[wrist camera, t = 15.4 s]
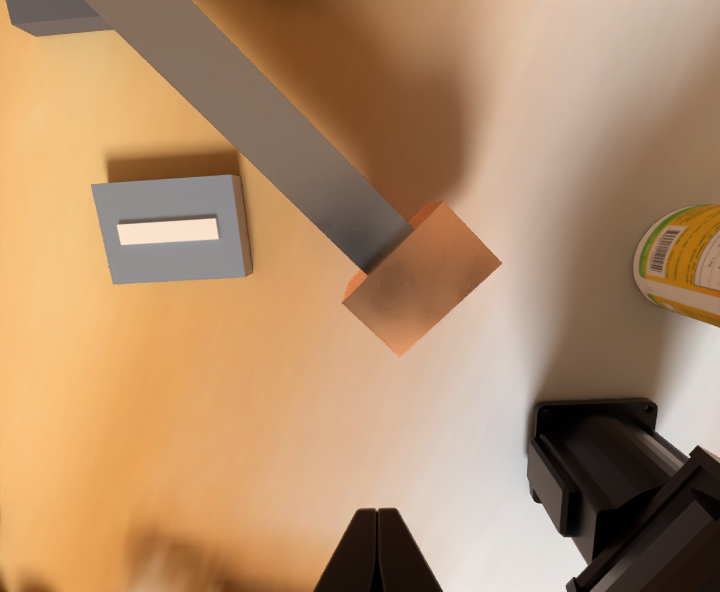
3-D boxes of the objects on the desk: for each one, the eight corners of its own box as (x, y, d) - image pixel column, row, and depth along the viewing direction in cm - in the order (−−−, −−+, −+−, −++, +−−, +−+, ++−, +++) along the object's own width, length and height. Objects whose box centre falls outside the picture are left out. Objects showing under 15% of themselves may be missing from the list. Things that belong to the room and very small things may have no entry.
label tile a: (240, 176, 19) (229, 173, 17) (252, 273, 20) (243, 277, 19) (108, 185, 19) (87, 184, 18) (128, 279, 20) (110, 285, 19)
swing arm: (-7, -67, 15) (-183, -193, 11) (58, -179, 14) (-103, -375, 10) (392, 318, 19) (399, 357, 14) (467, 248, 18) (502, 263, 13)
